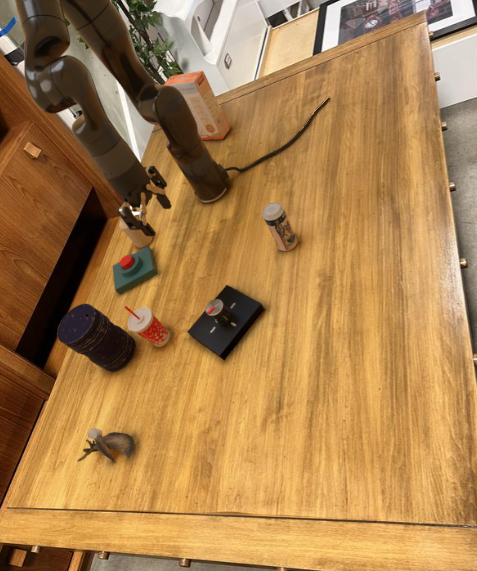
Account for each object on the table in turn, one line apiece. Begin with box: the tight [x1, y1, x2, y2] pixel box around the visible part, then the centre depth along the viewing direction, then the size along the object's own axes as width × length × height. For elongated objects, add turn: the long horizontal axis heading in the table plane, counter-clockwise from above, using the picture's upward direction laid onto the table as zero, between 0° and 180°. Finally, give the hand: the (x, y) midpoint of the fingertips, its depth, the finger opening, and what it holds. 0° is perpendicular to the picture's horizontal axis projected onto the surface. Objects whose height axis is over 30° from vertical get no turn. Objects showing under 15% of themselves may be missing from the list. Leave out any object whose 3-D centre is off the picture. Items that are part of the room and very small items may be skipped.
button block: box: [112, 245, 158, 295], centre depth 107 cm, size 12×10×4 cm
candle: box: [118, 217, 153, 249], centre depth 112 cm, size 6×6×10 cm
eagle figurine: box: [76, 427, 136, 464], centre depth 77 cm, size 8×7×9 cm
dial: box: [205, 298, 231, 326], centre depth 82 cm, size 4×4×5 cm
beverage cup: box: [124, 305, 171, 348], centre depth 86 cm, size 6×6×14 cm
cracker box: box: [163, 70, 231, 141], centre depth 128 cm, size 14×6×21 cm, turn 58°
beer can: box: [262, 201, 298, 252], centre depth 88 cm, size 5×5×12 cm
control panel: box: [186, 284, 266, 362], centre depth 85 cm, size 14×11×3 cm
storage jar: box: [56, 303, 137, 373], centre depth 88 cm, size 10×10×15 cm
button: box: [119, 254, 135, 269], centre depth 105 cm, size 4×4×2 cm
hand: (160, 221), depth 89 cm, fingers open, 8 cm apart
